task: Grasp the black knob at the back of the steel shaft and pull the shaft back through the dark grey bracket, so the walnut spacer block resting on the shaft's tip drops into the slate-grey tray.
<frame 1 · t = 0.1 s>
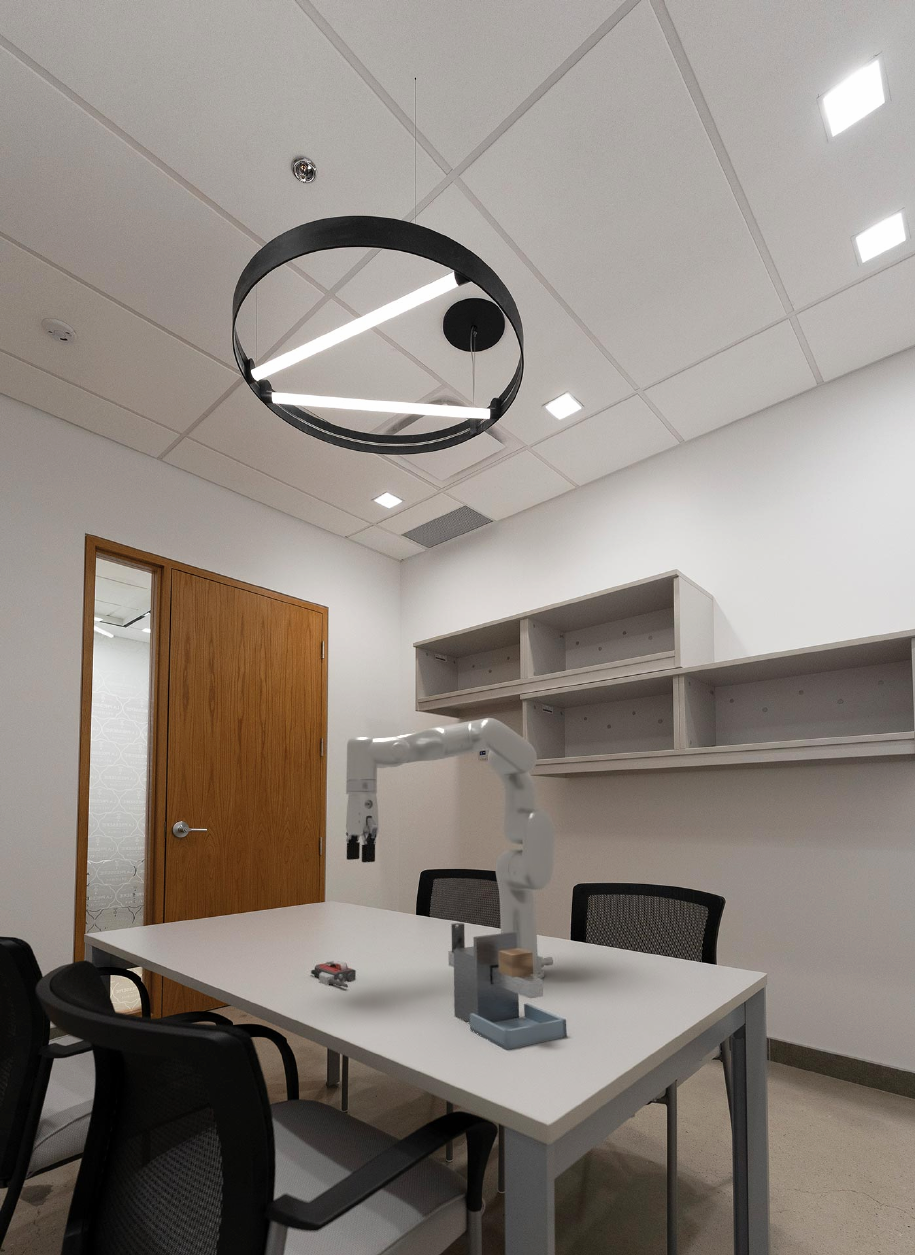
hand: (360, 860, 171), 31 cm above the table, tool pointing down, fingers open, 9 cm apart
steel shaft: (491, 956, 151), point 13 cm above the table, slide at 14.0 cm, touching walnut spacer
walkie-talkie: (337, 983, 184), on the table
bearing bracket: (486, 1018, 150), on the table
walnut spacer: (515, 973, 143), point 11 cm above the table, touching steel shaft
slate tray: (517, 1033, 140), on the table
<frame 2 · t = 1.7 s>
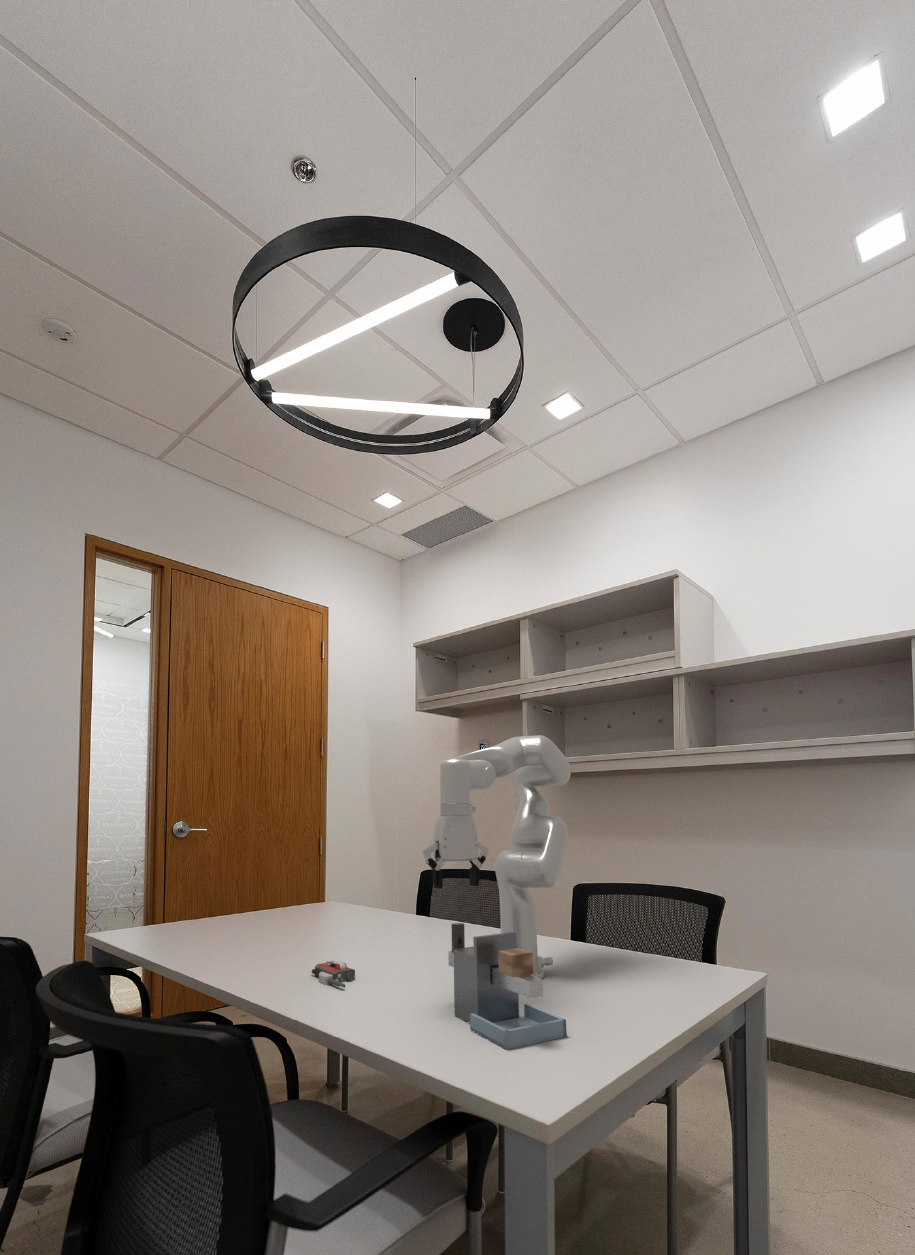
hand: (456, 886, 166), 25 cm above the table, tool pointing down, fingers open, 9 cm apart
nothing on the table moved.
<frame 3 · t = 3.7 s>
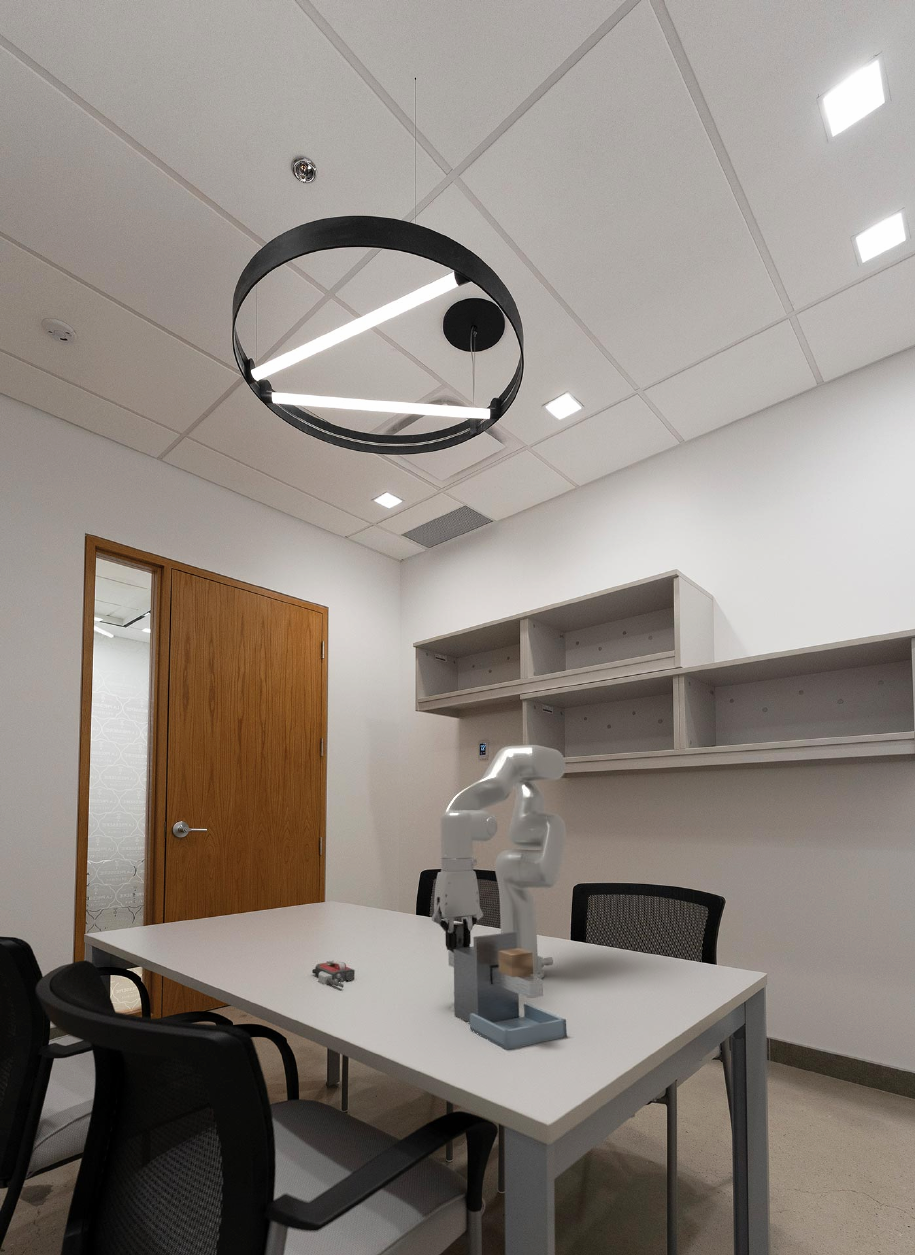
hand: (458, 948, 163), 12 cm above the table, tool pointing down, fingers closed on steel shaft, 3 cm apart
steel shaft: (491, 956, 151), point 13 cm above the table, slide at 14.0 cm, touching gripper, walnut spacer
everything else where it was.
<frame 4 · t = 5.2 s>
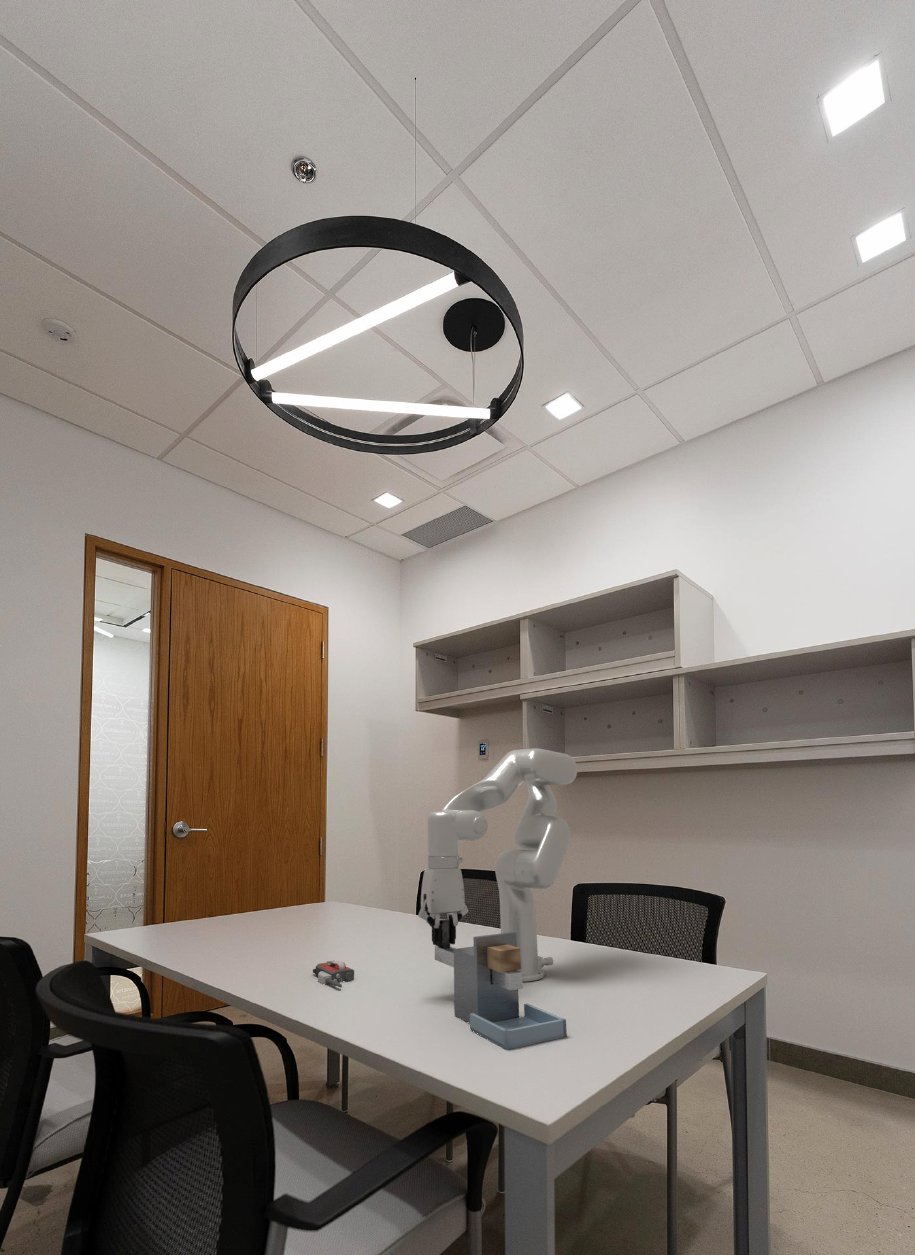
hand: (443, 943, 169), 12 cm above the table, tool pointing down, fingers closed on steel shaft, 3 cm apart
steel shaft: (474, 950, 157), point 13 cm above the table, slide at 7.0 cm, touching gripper
walnut spacer: (504, 968, 147), point 11 cm above the table
everything else where it was.
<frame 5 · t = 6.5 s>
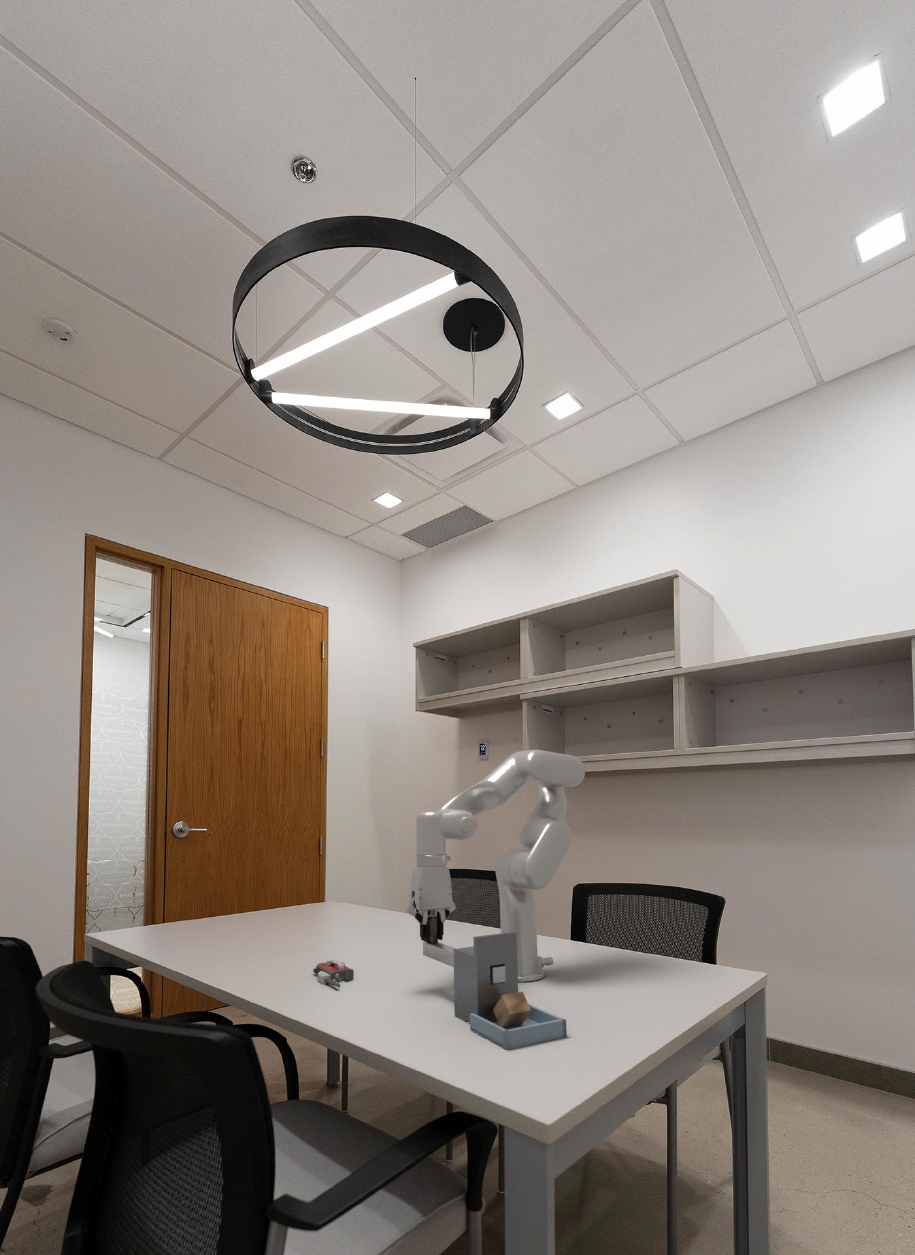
hand: (431, 939, 175), 12 cm above the table, tool pointing down, fingers closed on steel shaft, 3 cm apart
steel shaft: (460, 945, 163), point 13 cm above the table, slide at 0.6 cm, touching gripper
walnut spacer: (507, 1000, 144), point 5 cm above the table, tilted 135°, touching slate tray
everything else where it was.
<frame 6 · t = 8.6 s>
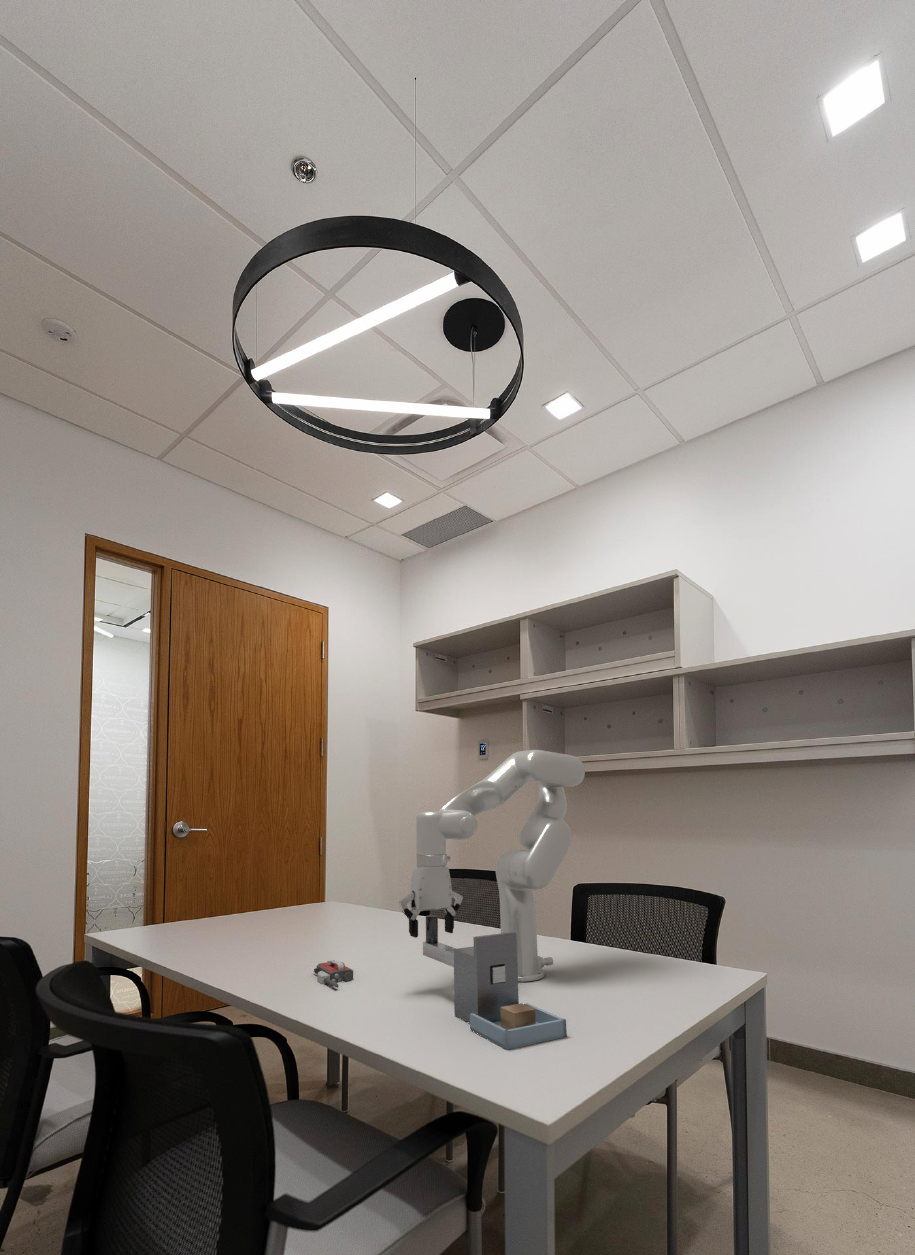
hand: (431, 934, 175), 13 cm above the table, tool pointing down, fingers open, 9 cm apart
steel shaft: (460, 945, 163), point 12 cm above the table, slide at 0.6 cm
walnut spacer: (517, 1008, 141), point 5 cm above the table, tilted 180°, touching slate tray
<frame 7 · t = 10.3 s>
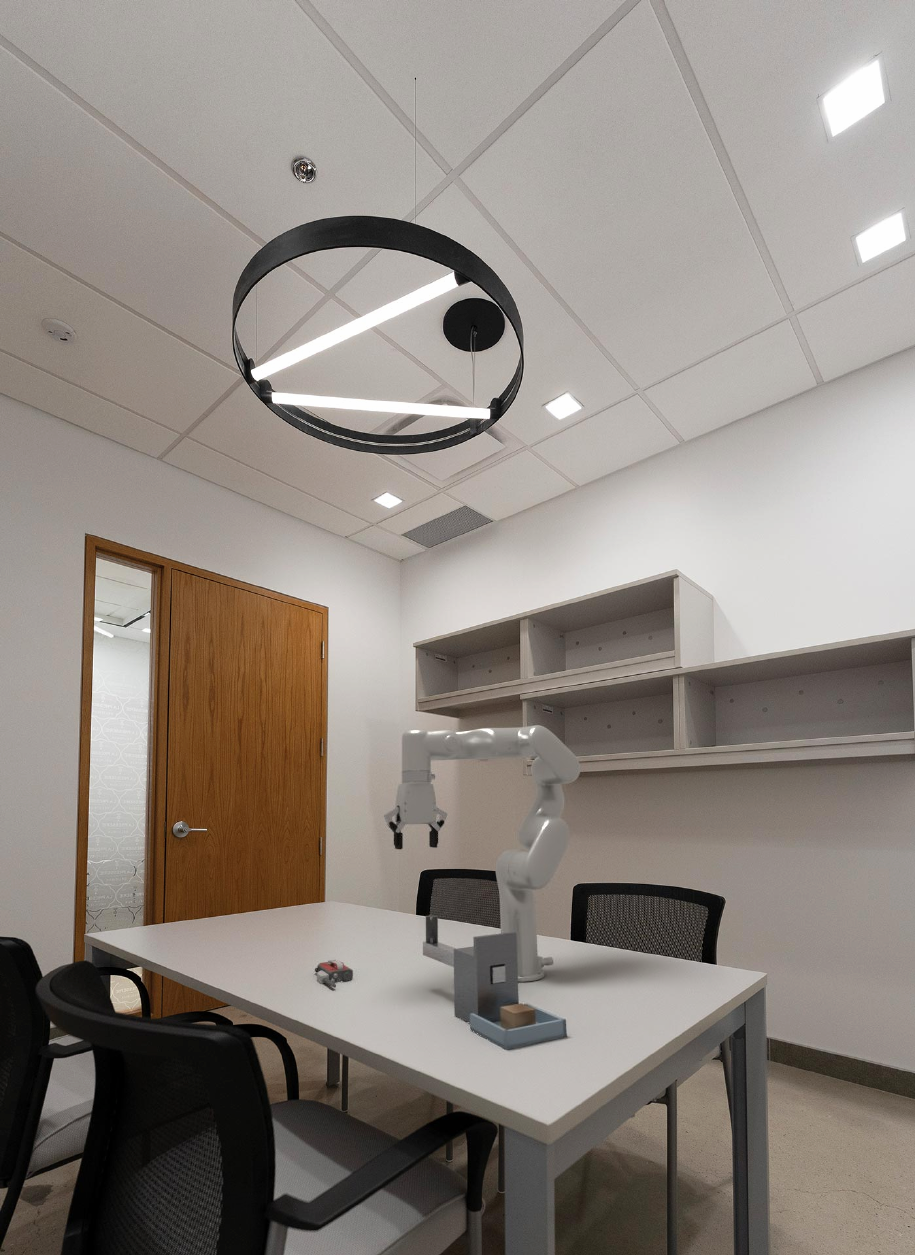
hand: (416, 848, 178), 33 cm above the table, tool pointing down, fingers open, 9 cm apart
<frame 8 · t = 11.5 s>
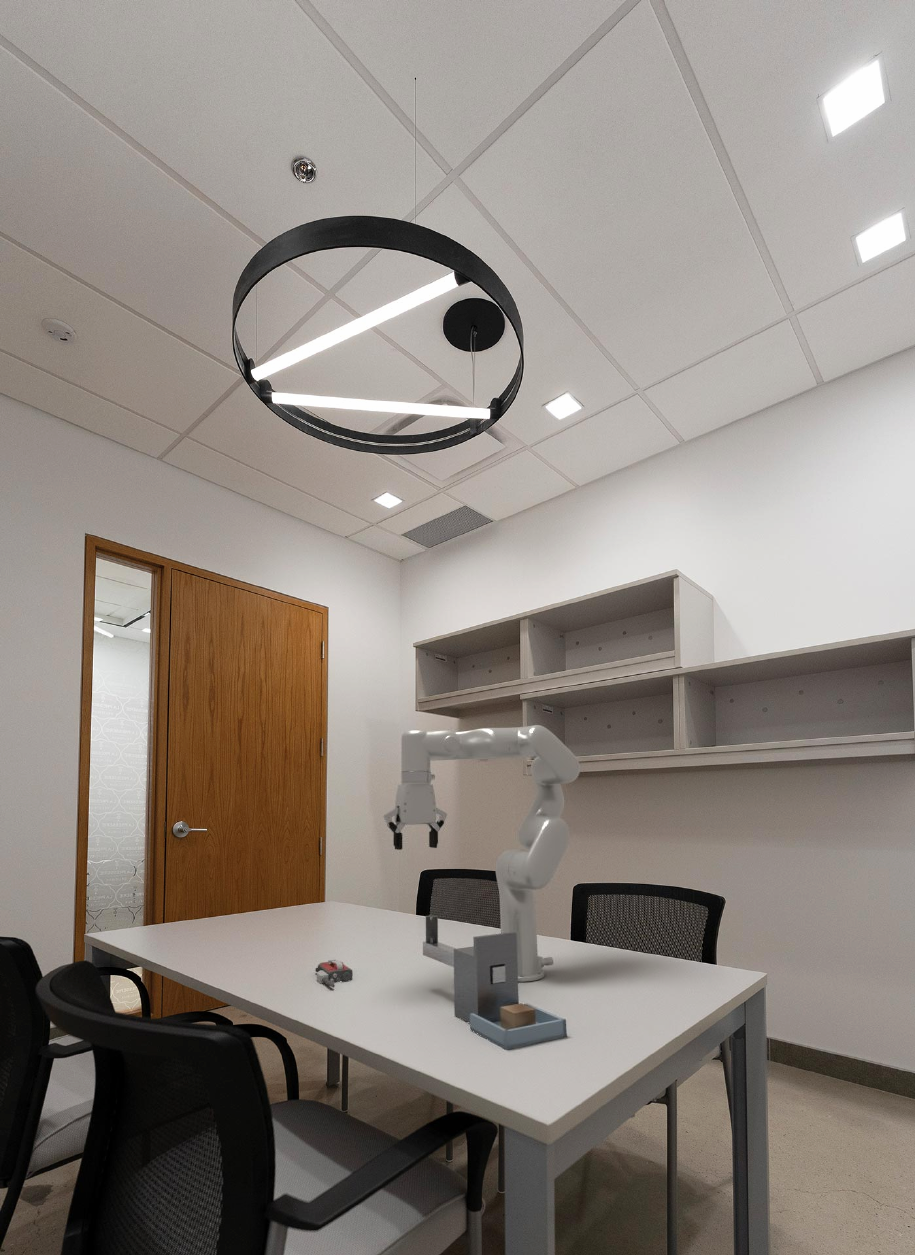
hand: (416, 848, 178), 33 cm above the table, tool pointing down, fingers open, 9 cm apart
at the end: steel shaft slide at 0.6 cm; walnut spacer inside the target area (0.7 cm from its centre), point 4.6 cm above the table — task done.
